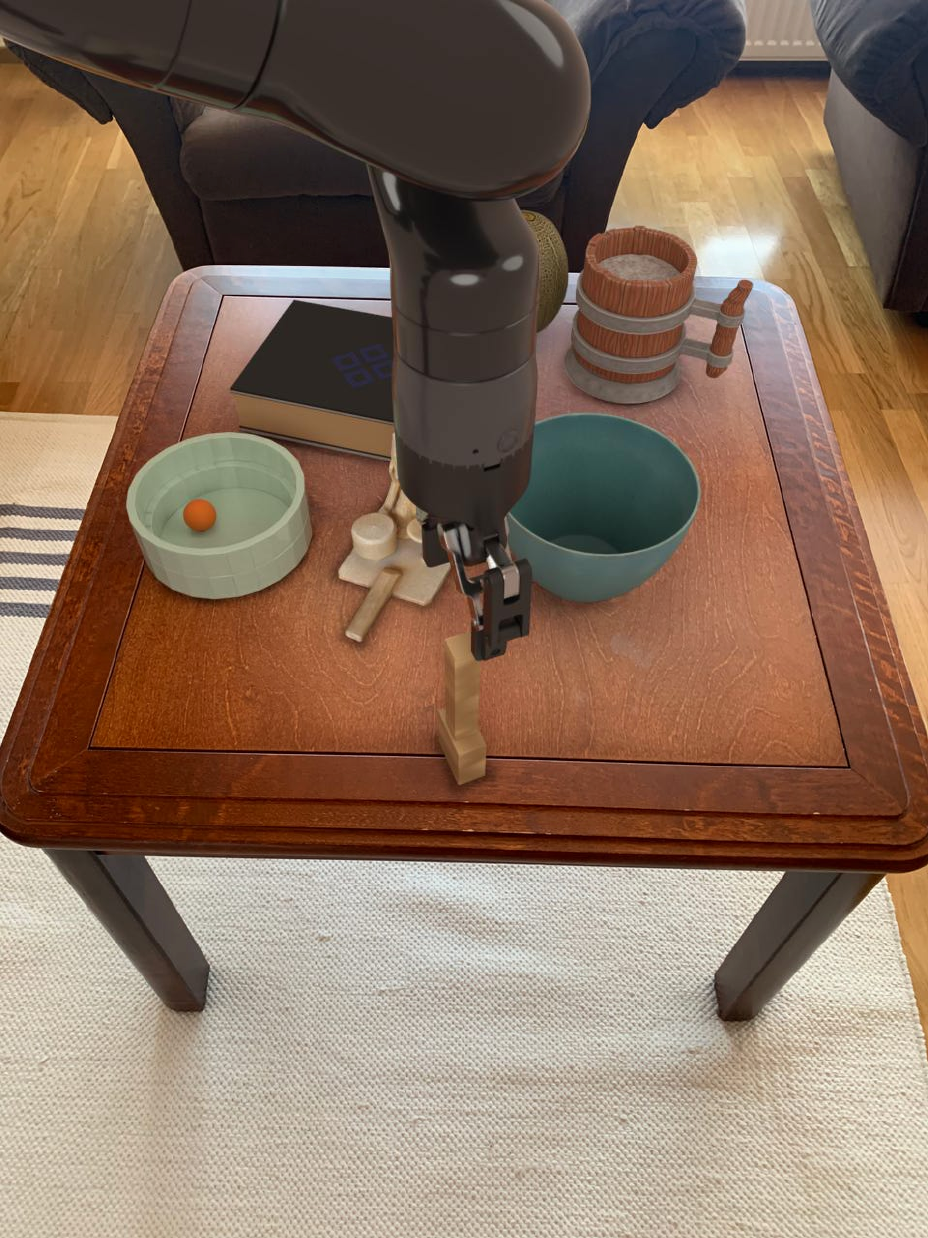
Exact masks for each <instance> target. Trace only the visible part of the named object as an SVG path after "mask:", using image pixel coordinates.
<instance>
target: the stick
mask: <svg viewBox="0 0 928 1238" xmlns="http://www.w3.org/2000/svg"><path fill="white" fill-rule="evenodd" d="M481 662H482V661H476V660H475V658H474V656H473V654H472V652H471V630H468V631H464V632H461V633H458V634H455V635H452V636H449V637H446V638H444V688H445V690H444V691H445V692H444V695H445V697H444V698H445V707H443V708H440V709H438V710H437V729H438V744H439V746H440V748H441V750H442V752H443V755H444V757H445V759H446V761H447V763H448V765H449V768H450V770H451V772H452V774H453V776H454V778H455V781H456V783H457V785H458V786H460V785H463V784H467V783H469V782H471V781H475V780H477V779H479V778H482V777H485V776H486V764H487V747H488V745H487V743H486V741H485V739H484V736H483V735H482V732H481V731H480V728H479V722H480V721H479V716H480V690H481V665H482V663H481Z"/></svg>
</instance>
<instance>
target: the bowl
mask: <svg viewBox="0 0 928 1238" xmlns="http://www.w3.org/2000/svg"><path fill="white" fill-rule="evenodd" d="M126 495H127V496H126V504H125V508H126V512H127V515H128V519H129V522H130V525H131V527H132V530H133V533H134V536H135V538H136V540H137V542H138V545H139V548H140V550H141V553H142V556H143V558H144V561H145V563H146V566H147V567H148V568H149V570H150V572H152V574H153V575H154V577H155V578H156V580H158V581H159V582H161V583H162V584H164V586H167V587H168V588H169V589H171V590H173V591H175V592H177V593H181V594H183V595H187V596H189V597H193V598H202V599H208V600H209V599H211V600H220V599H230V598H238V597H239V598H240V597H242V596H246V595H249V594H252V593H257V592H259V591H262V590H264V589H266V588H268V587H269V586H272V585H274V584H276V583H278V582H279V581H281V580H282V579H283V578H285V577H286V576H287V575H288V574H290V572H292V571H293V570H294V569H295V568H296V567H298V566H299V564H300V562H301V561H302V559H304V556H305V555H306V554H307V552H308V549H309V547H310V544H311V540H312V537H313V520H312V519H313V518H312V513H311V507H310V501H309V494H308V489H307V484H306V478H305V473H304V471H303V470H302V467H301V465H300V463H299V461H298V459H297V458H296V457H295V456H294V455H293V454H292V453H291V452H290V451H289V449H287V448H286V447H284V446H282V445H281V444H279V443H277V442H275V441H273V440H272V439H269V438H265V437H264V436H263V437H262V436H260V435H257V434H253V433H246V432H243V433H242V432H234V431H233V432H230V431H225V432H215V433H213V432H212V433H205V434H201V435H198V436H194V437H190V438H189V437H188V438H186V439H184V440H182V441H179V442H177V443H174V444H173V445H170V446H168V447H165V449H163V450H162V451H160V452H158V453H157V454H155V455H154V456H153V457H151V458H150V459H149V460H147V462H146V463H145V464H144V465H143V466H142V467H141V468H140V469H139V470H138V471H137V472H136V474H135V475H134V477H133V480H132V481H131V483H130V485H129V487H128V490H127V494H126ZM196 499H202V500H206V501H208V502H209V503H211V504H212V505H213V507H214V508H215V511H216V521H215V523H214V525H213V526H212V527H211V528H210V529H208V530H206V531H201V532H199V531H194V530H192V529H190V528H189V527H188V526H187V525H186V523H185V521H184V518H183V511H184V508H185V507H186V505H187V504H188V503H189V502H191V501H193V500H196Z"/></svg>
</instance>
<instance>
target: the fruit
mask: <svg viewBox="0 0 928 1238" xmlns="http://www.w3.org/2000/svg"><path fill="white" fill-rule="evenodd" d="M520 210H521V212H522V214H523V215H524V217H525V218H526V220H527V222H528V223H529V225H530V227H531V228H532V230H533V232H534V234H535V236H536V239H537V242H538V246H539V251H540V259H541V286H540V297H539V309H538V322H537V334H539V333H540V332H542V331H543V330H545V329H547V327H548V326H550V325H551V323H552V322H553V321H554V319H555V318H556V317H557V316H558V314H559V312H560V311H561V308H562V306H563V304H564V301H565V299H566V297H567V292H568V288H569V277H570V276H569V261H568V256H567V255H568V254H567V251H566V247H565V245H564V241H563V240H562V237H561V235H560V233H559V231H558V230H557V228H556V227H555V225H554V224H553V222H552V220H550V219H548V217H546V216H545V215H543V214H542V213H539V212H536V211H532V210H526V209H520Z"/></svg>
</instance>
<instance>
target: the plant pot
mask: <svg viewBox="0 0 928 1238" xmlns="http://www.w3.org/2000/svg"><path fill="white" fill-rule="evenodd" d="M701 489H702V488H701V483H700V478H699V475H698V472H697V470H696V468H695V466H694V464H693V462H692V461H691V459H690V458H689V456H688V455H687V454H686V453H685V451H684V450H683V449H681V447H679V446H678V444H676V442H674V441H673V440H672V439H671V438H669V437H668V436H667V435H665V434H663V433H662V432H660V431H659V430H657V429H655V428H653V427H652V426H650V425H647V424H645V423H642V422H639V421H637V420H633V419H631V418H628V417H623V416H620V415H614V414H609V413H603V412H602V413H600V412H572V413H563V414H558V415H553V416H549V417H546V418H543V419H540V420H537V421H535V427H534V439H533V451H532V463H531V475H530V481H529V485H528V487H527V489H526V491H525V493H524V494H523V496H522V497H521V499H520V500H519V501H518V502H517V503H516V504H515V505H514V506H513V508H512V509H511V510H510V511H509V512H508V514H507V515H506V517H507V522H508V526H509V534H508V536H507V541H508V545H509V549H510V553H511V554H512V555H513V557H514V559H515V561H517V560H520V559H523V558H526V559H527V560H528V562H529V564H530V565H531V567H532V581H534V582H535V583H536V584H538V585H539V586H540V587H542V588H543V589H544V590H546V591H547V592H549V593H551V594H552V595H554V596H556V597H558V598H561V599H563V600H566V601H570V602H574V603H583V604H584V603H586V604H589V603H596V602H597V603H599V602H603V601H604V602H605V601H607V600H611V599H615V598H618V597H620V596H623V595H625V594H627V593H629V592H631V591H634V590H635V589H637V588H638V587H640V586H641V585H643V584H644V583H646V581H648V580H649V579H651V578H652V577H653V576H654V575H655V574H656V573H657V572H659V570H660V569H661V568H663V567H664V565H666V563H667V562H668V561H669V559H671V557H672V556H673V555H674V554H675V553H676V551H677V549H678V548H679V547H680V545H681V544H682V542H683V540H684V539H685V538H686V535H687V534H688V532H689V530H690V528H691V526H692V524H693V522H694V520H695V517H696V514H697V511H698V509H699V505H700V501H701V494H702V493H701Z"/></svg>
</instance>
